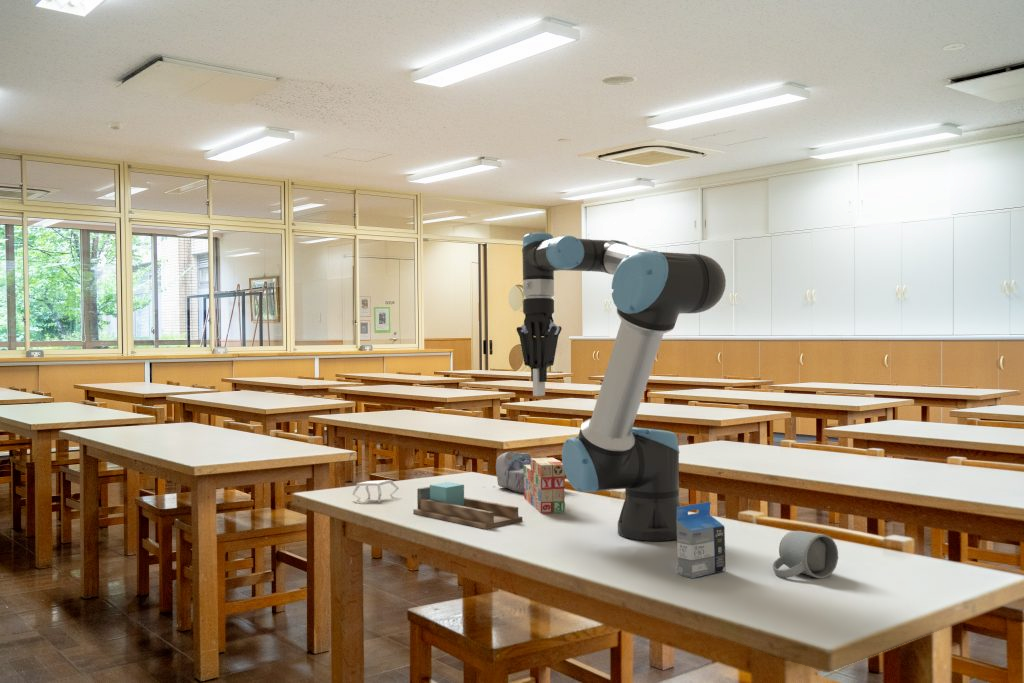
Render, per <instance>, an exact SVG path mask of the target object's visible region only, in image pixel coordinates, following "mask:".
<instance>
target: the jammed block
mask: <svg viewBox="0 0 1024 683" xmlns="http://www.w3.org/2000/svg"><path fill="white" fill-rule="evenodd" d="M429 487H430V500H434V501H439V502H444V503H450V504H455V505H460V506H464V497H465V484H462V483H455V482H451V481H447V482H439V483H434V484H430V485H429Z"/></svg>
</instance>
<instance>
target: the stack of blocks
mask: <svg viewBox="0 0 1024 683" xmlns="http://www.w3.org/2000/svg"><path fill="white" fill-rule="evenodd" d="M523 472H524V473H523V474H524V493H523V494H524V496H523V497H524V499H525V500H526V501H527V503H529V504H530V505H531V506H532V507H534V508H535V510H536V511H537V510H538V511H537V512H538V513H539V514H541V513H543V514H561V513H565V512H566V511H565V509H566V508H565V505H566V502H565V494H566V493H565V492H566V491H565V489H566V475H565V472H564V467H563V463H562V460H559V459H558V458H557V459H556V458H555V457H534V458H533V457H531V465H523Z"/></svg>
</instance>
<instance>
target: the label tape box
mask: <svg viewBox="0 0 1024 683" xmlns="http://www.w3.org/2000/svg"><path fill="white" fill-rule="evenodd" d="M711 503H712V502H711V501H707V502H699V503H694V504H686V505H681V507H677V520H676V523H677V539H676V549H677V550H676V552H677V555H676V556H677V574H678V575H680V576H682V577H685V578H691V579H694V578H699V577H703V576H707V575H711V574H715V573H716V574H717V573H721V572H723V571H726V567H727V566H726V539H725V538H726V537H725V536H726V533H725V532H726V531H725V530H726V529H725V525H724V524H723V523H722V522H720V521H719V520H718V519H716V518H715V517H714V516H712V515H711V514H710V513H711ZM693 510H694V511H698V512H695V513H691V514H690V513H689V512H693Z"/></svg>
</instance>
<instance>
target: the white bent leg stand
mask: <svg viewBox="0 0 1024 683" xmlns="http://www.w3.org/2000/svg"><path fill="white" fill-rule="evenodd" d="M387 484H390V485H391V486H393V487H394V488H395V489H394V490H393V492H392V493H391V494H389V496H390V498H392V499H394V496H393V495H394V494H395V493H396V492H397V491H398V490H399V489H400V488H399V487H398V486H397V485H396V483H395V482H394V480H393V479H386V480H385V479H383V480H382V479H381V480H366V481H362V482H356V486H355V488H354V490H353V492H352V496H354V497H356V498H358V499H356V502H359V501H360V500H361V497H360V496H358V495H356V492H357V491H358V490H359V488H360V487H362V486H365V487H364V488H365V490H366V493H367V494H366V495H367V499H371V493H370V489H369V486H371V487H372V486H374V487H375V486H377V493H378V494H377V495H378V496H377V497H378V498H377V502H378V503H380V502H381V498H382V489H381V486H383V485H387Z"/></svg>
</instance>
